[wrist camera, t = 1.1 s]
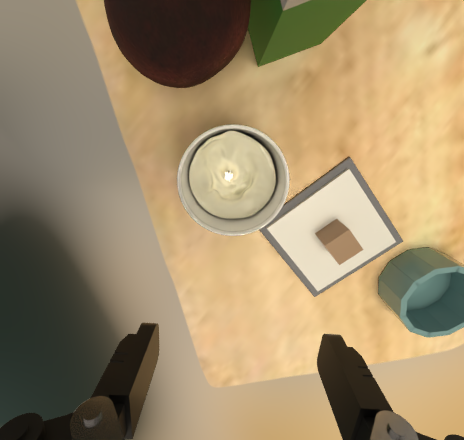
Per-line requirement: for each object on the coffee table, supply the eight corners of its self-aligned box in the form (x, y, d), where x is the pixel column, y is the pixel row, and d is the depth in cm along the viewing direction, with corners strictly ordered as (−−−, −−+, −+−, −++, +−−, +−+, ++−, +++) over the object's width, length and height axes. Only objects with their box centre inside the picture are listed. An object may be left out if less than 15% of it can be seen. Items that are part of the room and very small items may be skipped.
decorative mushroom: (171, 114, 32) (124, 102, 18) (129, 13, 28) (28, -104, 14) (256, 79, 31) (278, 36, 16) (222, -31, 27) (215, -206, 13)
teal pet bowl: (433, 234, 37) (466, 250, 32) (463, 285, 40) (498, 308, 35) (365, 276, 39) (386, 298, 34) (398, 322, 42) (422, 349, 37)
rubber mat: (348, 156, 34) (350, 157, 33) (401, 240, 37) (403, 241, 37) (255, 225, 37) (256, 226, 36) (313, 295, 40) (314, 297, 40)
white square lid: (347, 168, 34) (364, 174, 29) (393, 240, 37) (415, 254, 33) (266, 227, 36) (271, 240, 32) (316, 289, 40) (327, 308, 35)
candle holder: (183, 140, 33) (158, 146, 21) (258, 115, 32) (273, 106, 21) (209, 211, 36) (199, 248, 25) (278, 189, 35) (301, 218, 24)
